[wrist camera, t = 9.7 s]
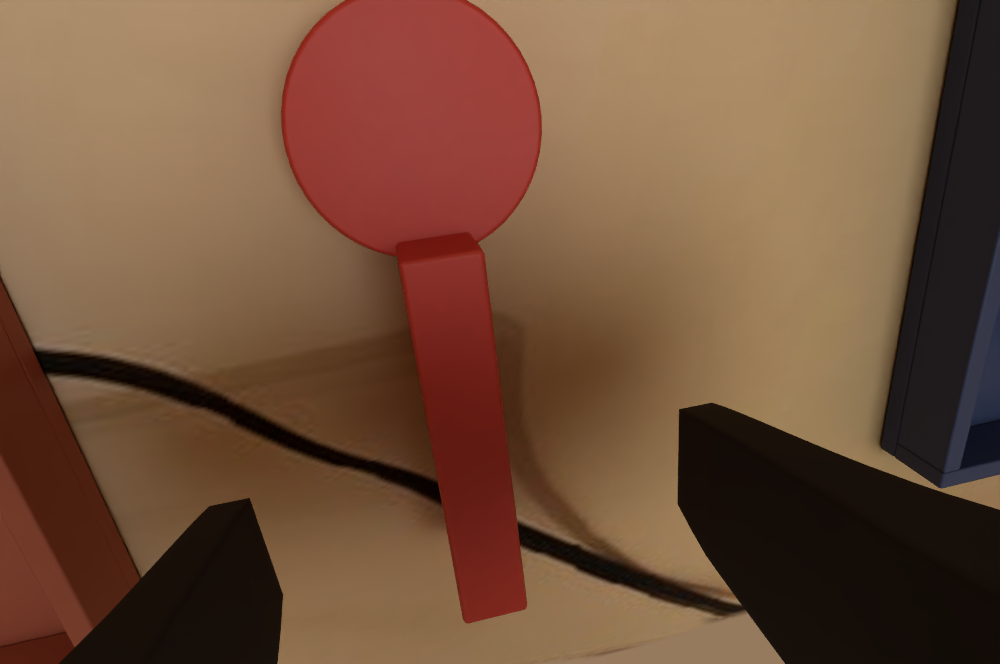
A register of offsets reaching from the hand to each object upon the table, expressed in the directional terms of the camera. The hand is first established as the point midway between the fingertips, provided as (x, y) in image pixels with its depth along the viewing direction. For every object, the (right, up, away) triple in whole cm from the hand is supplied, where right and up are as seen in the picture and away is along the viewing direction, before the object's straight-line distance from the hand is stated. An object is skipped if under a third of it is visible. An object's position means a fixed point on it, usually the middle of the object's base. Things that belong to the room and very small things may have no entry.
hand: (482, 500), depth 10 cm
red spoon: (-1, +3, +3) cm, 5 cm away
